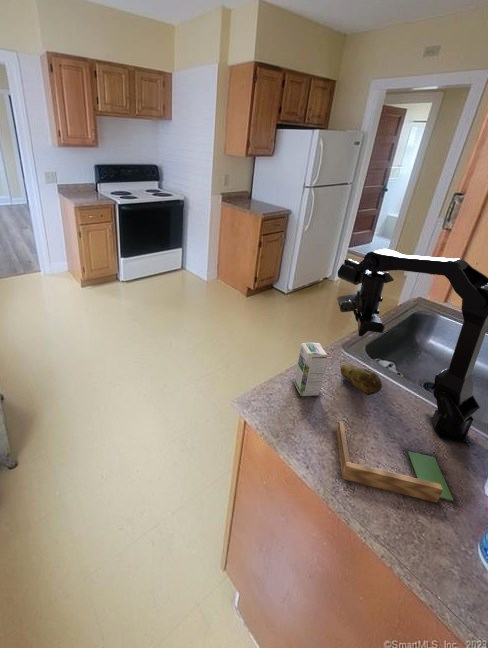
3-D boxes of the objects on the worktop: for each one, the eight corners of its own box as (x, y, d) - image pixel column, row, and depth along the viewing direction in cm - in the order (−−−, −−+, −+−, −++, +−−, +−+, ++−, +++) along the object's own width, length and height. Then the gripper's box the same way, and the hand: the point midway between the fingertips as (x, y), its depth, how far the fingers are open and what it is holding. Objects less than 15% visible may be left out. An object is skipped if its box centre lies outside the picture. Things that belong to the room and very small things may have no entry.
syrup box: (293, 382, 97) (300, 342, 92) (312, 382, 98) (319, 342, 92) (300, 396, 92) (307, 355, 87) (320, 395, 93) (328, 354, 87)
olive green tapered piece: (363, 374, 102) (368, 353, 99) (382, 405, 90) (388, 382, 87) (336, 372, 102) (341, 351, 99) (352, 403, 90) (357, 380, 87)
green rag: (434, 458, 75) (434, 457, 75) (453, 501, 66) (453, 500, 66) (407, 452, 76) (408, 451, 76) (422, 493, 67) (423, 492, 67)
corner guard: (416, 451, 77) (421, 439, 75) (437, 502, 66) (443, 489, 64) (336, 433, 81) (339, 421, 79) (342, 479, 70) (346, 466, 68)
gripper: (338, 275, 105) (330, 317, 111) (346, 301, 88) (336, 348, 94) (375, 280, 102) (365, 322, 108) (391, 307, 86) (377, 355, 91)
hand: (360, 335), depth 100 cm, fingers closed
